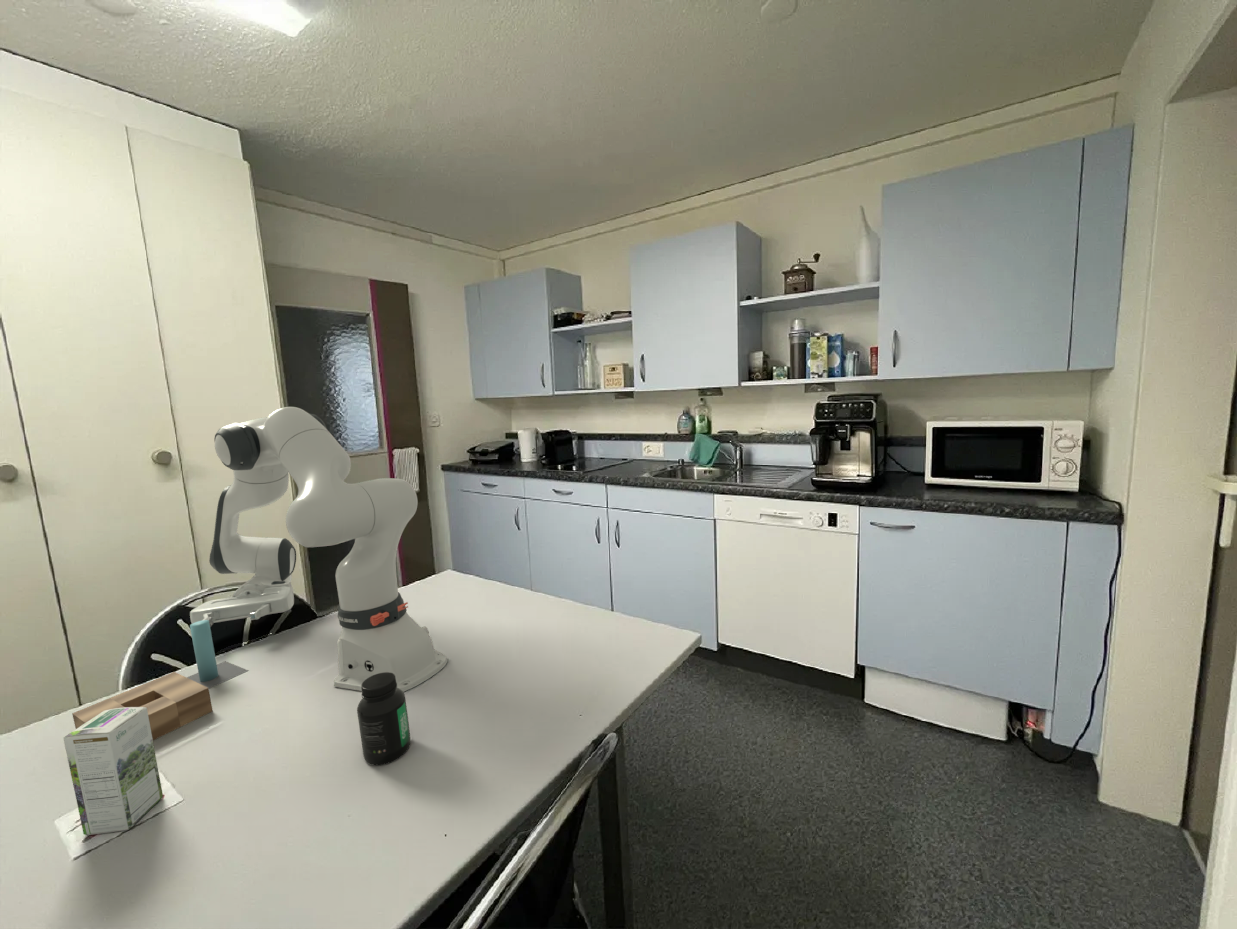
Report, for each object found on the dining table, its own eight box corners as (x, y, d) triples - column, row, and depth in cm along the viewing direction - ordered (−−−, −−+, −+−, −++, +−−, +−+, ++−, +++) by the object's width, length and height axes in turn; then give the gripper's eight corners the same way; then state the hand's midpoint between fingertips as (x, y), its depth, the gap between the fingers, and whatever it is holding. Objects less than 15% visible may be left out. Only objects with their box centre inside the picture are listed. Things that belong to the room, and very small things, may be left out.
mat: (248, 672, 105) (248, 670, 105) (191, 698, 96) (191, 696, 96) (225, 662, 110) (225, 661, 110) (168, 687, 101) (168, 685, 101)
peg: (221, 675, 104) (211, 621, 102) (204, 683, 101) (193, 627, 99) (214, 672, 105) (204, 619, 103) (197, 679, 102) (187, 625, 101)
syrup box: (122, 802, 71) (101, 708, 69) (166, 797, 71) (146, 704, 69) (83, 837, 65) (59, 736, 63) (130, 831, 66) (108, 731, 64)
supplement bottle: (419, 747, 78) (410, 677, 77) (375, 774, 73) (365, 699, 72) (399, 730, 83) (390, 663, 81) (356, 754, 78) (346, 683, 76)
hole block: (213, 713, 91) (208, 687, 90) (109, 764, 79) (102, 735, 78) (178, 695, 98) (174, 671, 97) (78, 739, 86) (72, 713, 85)
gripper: (204, 592, 123) (172, 615, 110) (297, 580, 129) (277, 600, 116) (208, 616, 124) (178, 642, 111) (301, 603, 130) (281, 625, 117)
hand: (229, 620), depth 114 cm, fingers open, 8 cm apart
